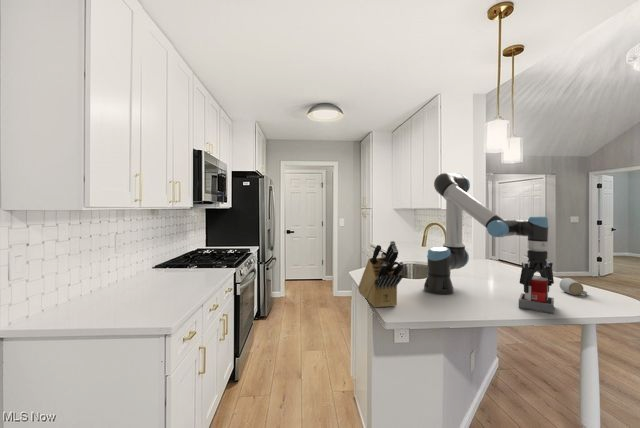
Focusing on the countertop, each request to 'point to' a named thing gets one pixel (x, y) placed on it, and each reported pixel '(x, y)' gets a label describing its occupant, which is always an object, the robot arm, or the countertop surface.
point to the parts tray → (536, 305)
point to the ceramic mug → (571, 286)
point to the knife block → (381, 278)
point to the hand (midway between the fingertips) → (536, 299)
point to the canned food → (539, 289)
